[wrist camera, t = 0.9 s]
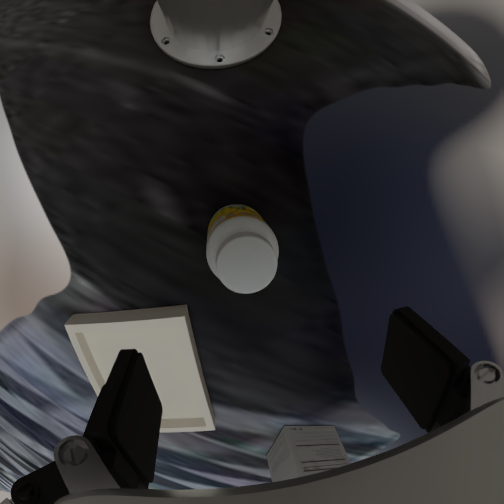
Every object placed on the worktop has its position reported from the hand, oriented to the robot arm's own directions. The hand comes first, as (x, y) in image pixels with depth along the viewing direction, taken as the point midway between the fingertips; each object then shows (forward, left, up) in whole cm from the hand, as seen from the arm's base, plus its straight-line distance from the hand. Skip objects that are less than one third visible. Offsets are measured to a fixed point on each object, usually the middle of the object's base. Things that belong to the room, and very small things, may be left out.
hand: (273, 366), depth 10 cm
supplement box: (+35, +6, -19) cm, 40 cm away
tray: (+16, -13, -19) cm, 28 cm away
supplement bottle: (0, 0, -19) cm, 19 cm away
